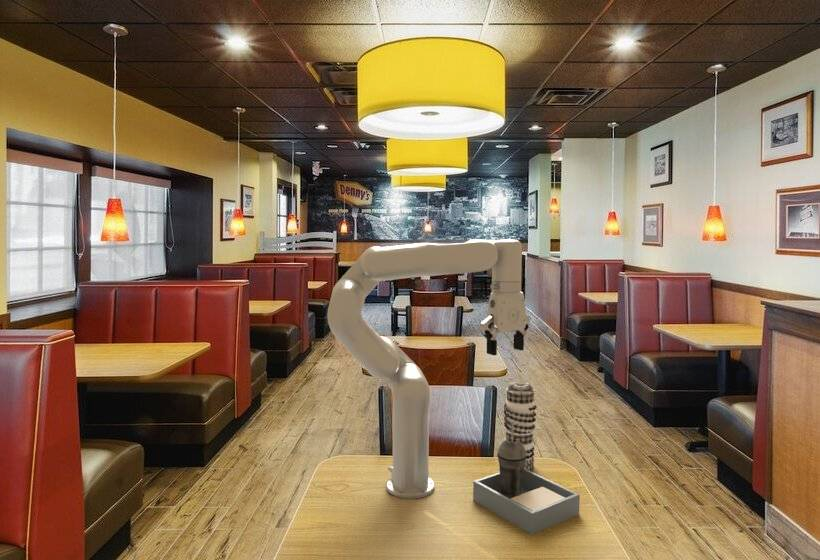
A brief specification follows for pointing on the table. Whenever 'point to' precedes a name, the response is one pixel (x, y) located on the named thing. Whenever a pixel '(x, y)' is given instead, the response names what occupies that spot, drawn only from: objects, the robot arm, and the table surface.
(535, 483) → the tray
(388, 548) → the table surface
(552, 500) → the beige rectangular block
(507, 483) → the beverage cup
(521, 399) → the decorative candle
